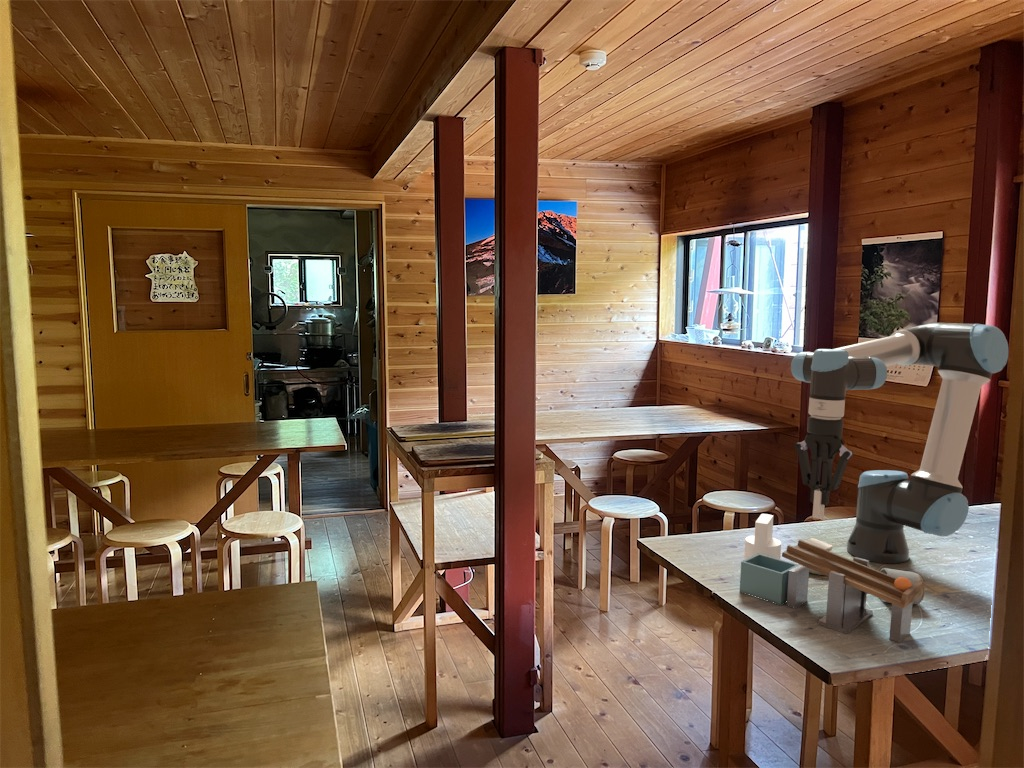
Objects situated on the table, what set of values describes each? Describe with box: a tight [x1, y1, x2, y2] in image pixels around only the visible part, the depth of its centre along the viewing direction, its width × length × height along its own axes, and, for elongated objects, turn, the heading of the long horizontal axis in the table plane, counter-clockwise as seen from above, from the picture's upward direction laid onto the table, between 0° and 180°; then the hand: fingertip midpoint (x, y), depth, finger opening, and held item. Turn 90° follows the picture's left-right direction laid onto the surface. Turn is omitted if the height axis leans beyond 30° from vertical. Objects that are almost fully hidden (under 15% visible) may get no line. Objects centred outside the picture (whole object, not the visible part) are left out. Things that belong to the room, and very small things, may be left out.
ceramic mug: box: [879, 567, 925, 605], centre depth 171 cm, size 11×8×8 cm
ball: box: [894, 577, 912, 592], centre depth 151 cm, size 3×3×3 cm
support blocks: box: [786, 556, 914, 644], centre depth 159 cm, size 14×24×12 cm, turn 44°
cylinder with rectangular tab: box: [743, 513, 782, 561], centre depth 193 cm, size 9×9×12 cm
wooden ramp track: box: [781, 537, 925, 608], centre depth 160 cm, size 15×26×3 cm, turn 44°
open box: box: [739, 553, 799, 606], centre depth 173 cm, size 8×10×8 cm
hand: (818, 517), depth 170 cm, fingers closed
